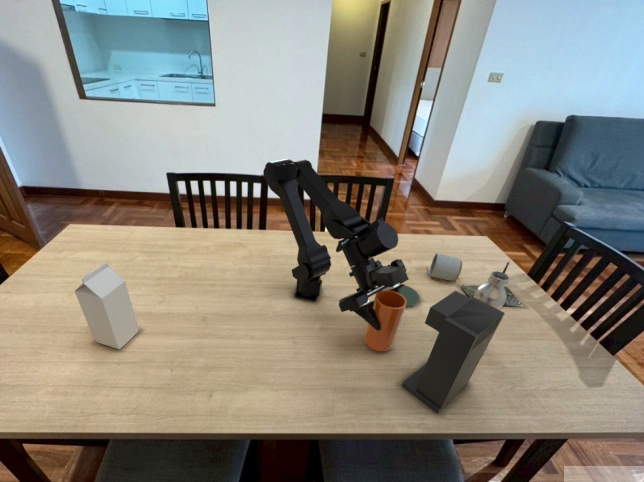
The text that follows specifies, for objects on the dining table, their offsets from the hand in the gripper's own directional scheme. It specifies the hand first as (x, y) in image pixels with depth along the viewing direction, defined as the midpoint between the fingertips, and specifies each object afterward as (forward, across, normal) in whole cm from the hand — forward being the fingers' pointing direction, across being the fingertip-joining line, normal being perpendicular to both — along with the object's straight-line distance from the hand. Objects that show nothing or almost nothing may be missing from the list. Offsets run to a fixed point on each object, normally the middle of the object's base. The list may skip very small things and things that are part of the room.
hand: (389, 324), depth 82 cm
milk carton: (-23, -49, +35) cm, 65 cm away
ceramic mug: (-1, +42, +12) cm, 44 cm away
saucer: (-2, +21, +13) cm, 25 cm away
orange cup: (+4, 0, +6) cm, 7 cm away
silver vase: (+10, +44, +1) cm, 45 cm away
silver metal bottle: (+14, +20, -3) cm, 24 cm away
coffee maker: (+16, 0, -5) cm, 16 cm away
